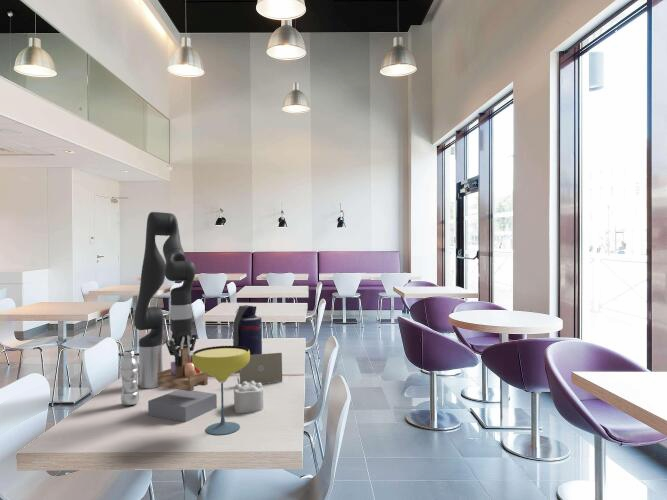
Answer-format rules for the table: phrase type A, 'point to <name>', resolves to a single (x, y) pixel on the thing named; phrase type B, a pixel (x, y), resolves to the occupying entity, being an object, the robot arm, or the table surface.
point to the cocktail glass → (221, 375)
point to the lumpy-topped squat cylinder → (248, 397)
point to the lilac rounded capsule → (173, 369)
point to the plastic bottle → (129, 379)
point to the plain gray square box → (182, 405)
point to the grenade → (248, 329)
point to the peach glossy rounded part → (189, 369)
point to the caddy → (181, 376)
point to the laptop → (262, 369)
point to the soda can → (192, 362)
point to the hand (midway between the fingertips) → (182, 365)
